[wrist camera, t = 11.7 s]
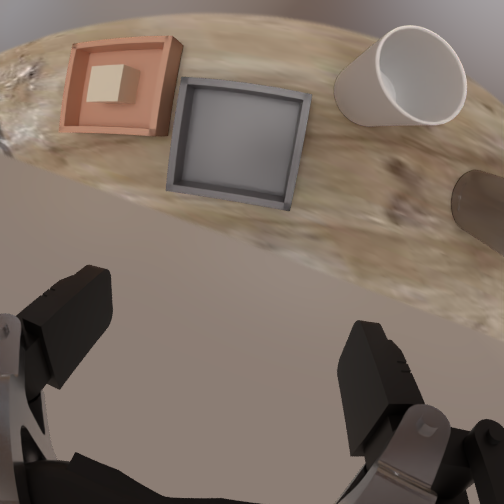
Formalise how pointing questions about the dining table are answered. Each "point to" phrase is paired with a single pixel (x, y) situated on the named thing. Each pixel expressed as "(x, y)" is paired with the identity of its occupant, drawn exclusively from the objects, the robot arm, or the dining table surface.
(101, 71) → the block
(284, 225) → the dining table surface
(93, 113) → the bin
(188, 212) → the dining table surface
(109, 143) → the dining table surface
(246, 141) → the bin
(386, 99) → the cup
